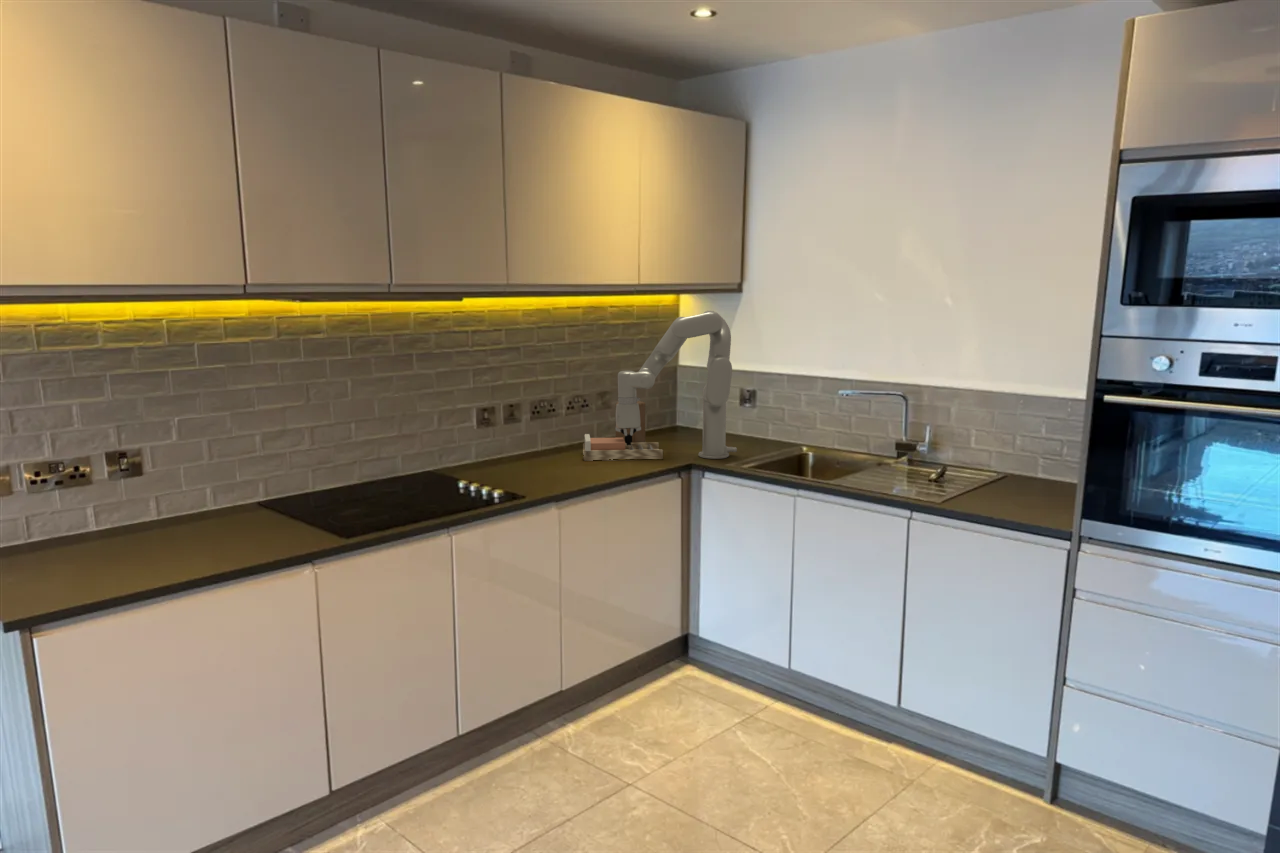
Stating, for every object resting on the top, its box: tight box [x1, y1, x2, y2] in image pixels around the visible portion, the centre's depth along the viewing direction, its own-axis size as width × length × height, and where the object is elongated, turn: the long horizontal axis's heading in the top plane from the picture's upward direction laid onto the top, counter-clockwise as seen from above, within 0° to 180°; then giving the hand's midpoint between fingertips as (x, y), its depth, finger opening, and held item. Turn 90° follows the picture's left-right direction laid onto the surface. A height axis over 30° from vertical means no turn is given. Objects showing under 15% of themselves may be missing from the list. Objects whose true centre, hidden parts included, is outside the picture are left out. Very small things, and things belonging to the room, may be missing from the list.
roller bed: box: [582, 441, 664, 462], centre depth 342 cm, size 32×16×4 cm, turn 95°
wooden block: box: [615, 400, 646, 443], centre depth 360 cm, size 10×10×20 cm
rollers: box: [628, 444, 653, 450], centre depth 342 cm, size 26×14×2 cm, turn 95°
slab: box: [590, 437, 625, 450], centre depth 341 cm, size 14×12×3 cm
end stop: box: [584, 433, 591, 456], centre depth 340 cm, size 2×16×6 cm, turn 5°
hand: (628, 444), depth 342 cm, fingers closed
